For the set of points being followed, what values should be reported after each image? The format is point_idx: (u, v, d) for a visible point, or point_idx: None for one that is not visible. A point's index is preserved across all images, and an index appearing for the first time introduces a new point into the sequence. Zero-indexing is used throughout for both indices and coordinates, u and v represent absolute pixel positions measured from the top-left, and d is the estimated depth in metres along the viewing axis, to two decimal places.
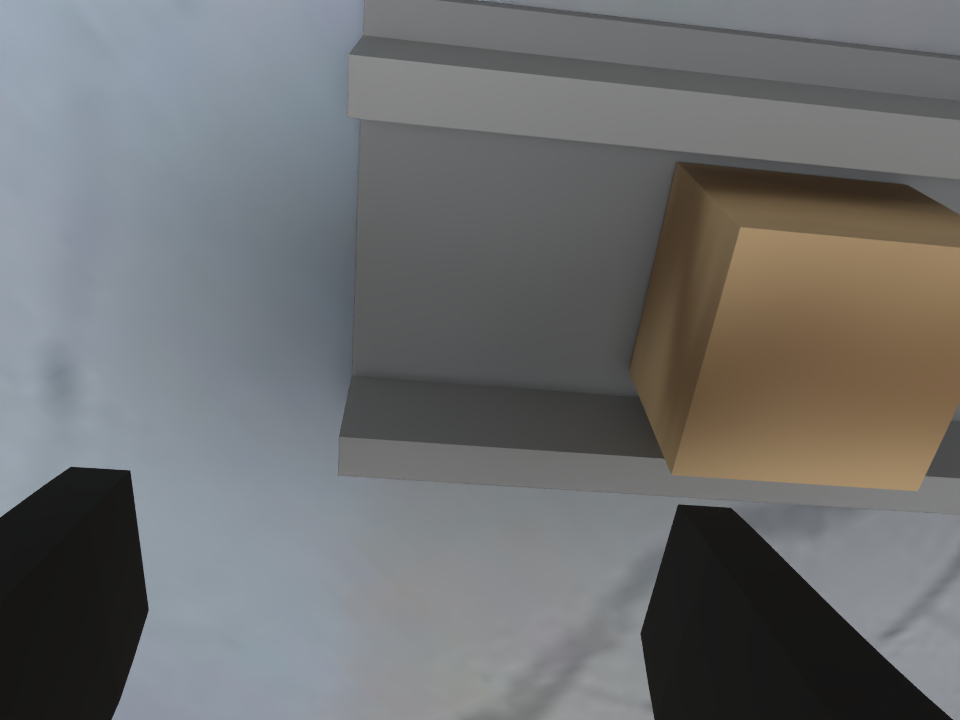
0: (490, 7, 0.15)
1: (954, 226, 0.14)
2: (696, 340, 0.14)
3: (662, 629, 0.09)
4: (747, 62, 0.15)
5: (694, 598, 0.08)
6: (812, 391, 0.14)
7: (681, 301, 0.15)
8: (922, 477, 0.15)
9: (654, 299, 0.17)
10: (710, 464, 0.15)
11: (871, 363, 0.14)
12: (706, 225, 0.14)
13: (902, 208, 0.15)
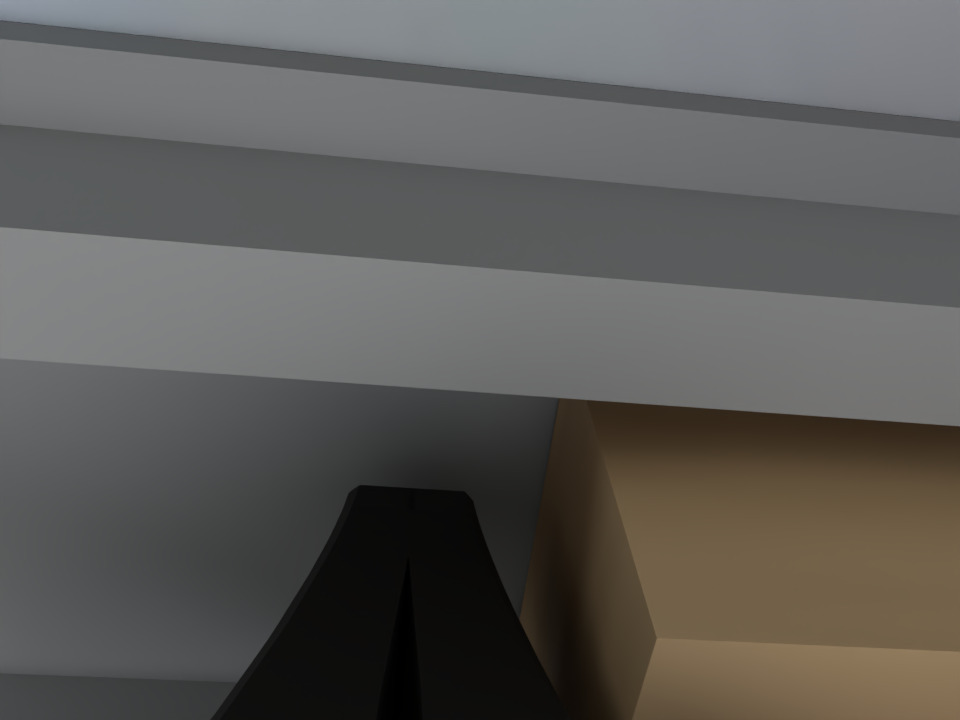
0: (71, 48, 0.07)
1: None
2: None
3: None
4: (630, 155, 0.08)
5: None
6: None
7: (565, 650, 0.08)
8: None
9: (538, 579, 0.09)
10: None
11: None
12: (601, 538, 0.06)
13: None
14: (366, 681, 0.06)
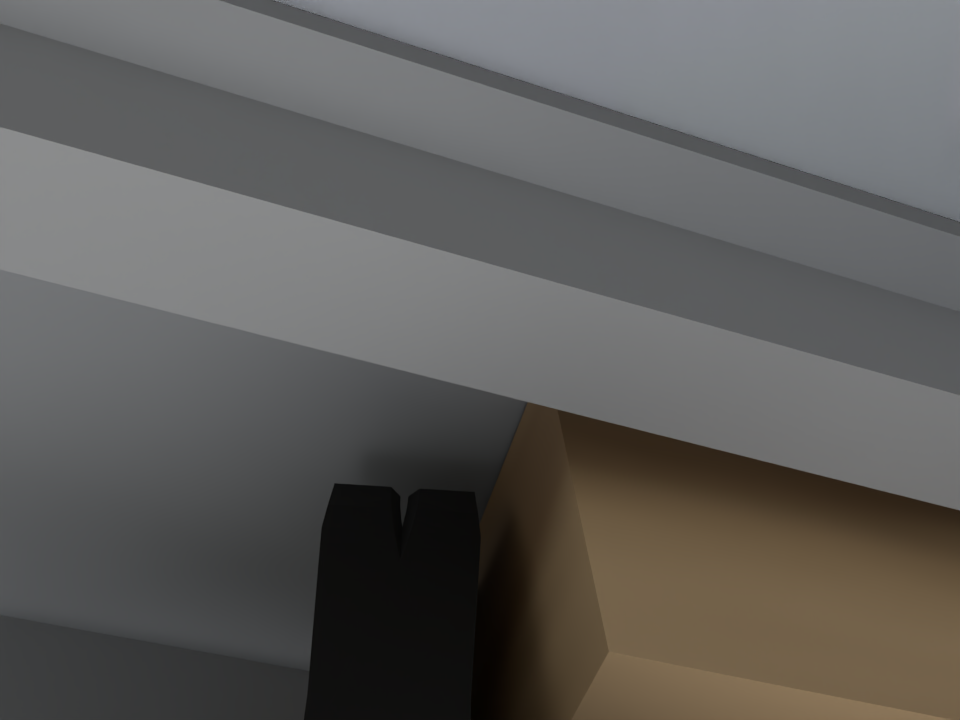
0: None
1: None
2: None
3: None
4: None
5: None
6: None
7: (495, 654, 0.08)
8: None
9: None
10: None
11: None
12: (557, 549, 0.07)
13: (945, 551, 0.08)
14: (456, 685, 0.06)
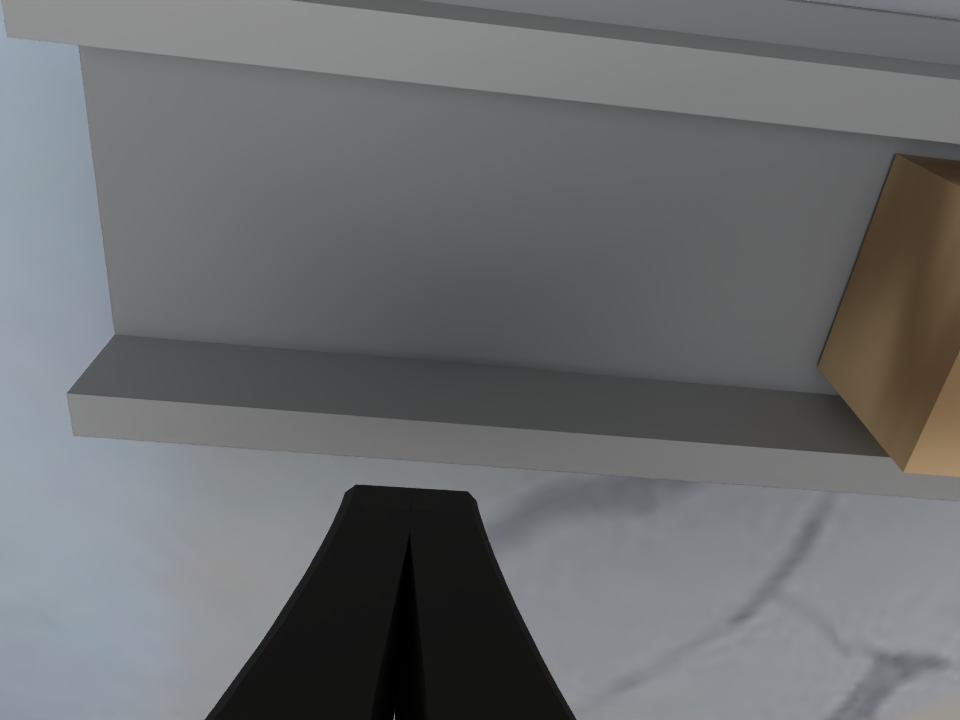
0: None
1: None
2: (944, 335, 0.14)
3: None
4: None
5: (406, 583, 0.08)
6: None
7: (913, 296, 0.15)
8: None
9: (861, 294, 0.17)
10: (945, 462, 0.15)
11: None
12: (956, 217, 0.14)
13: None
14: (361, 681, 0.06)
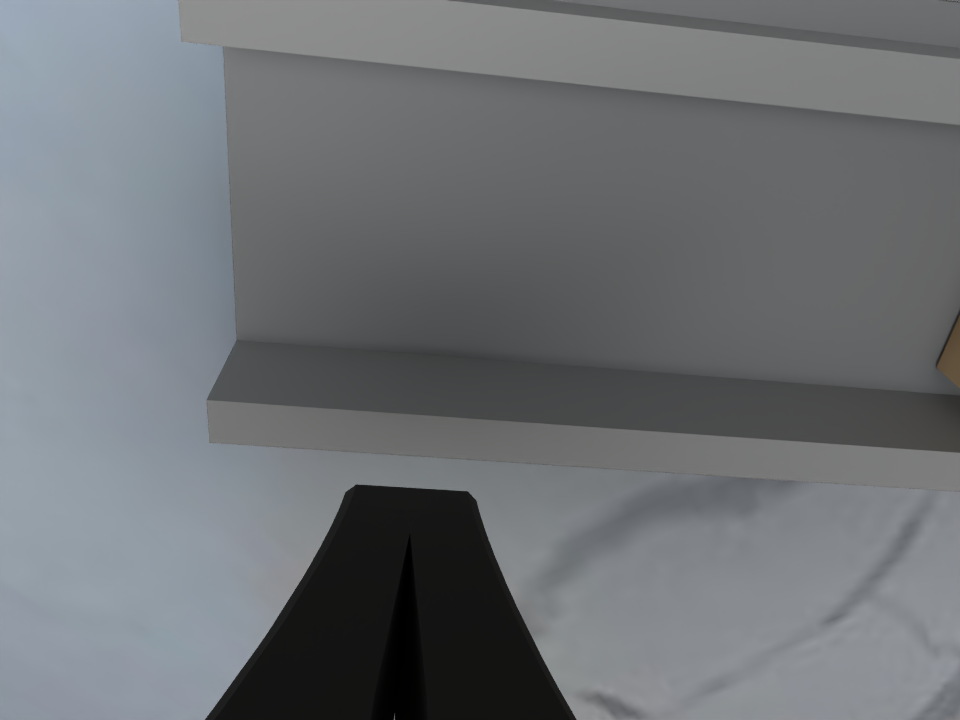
0: None
1: None
2: None
3: None
4: None
5: (405, 583, 0.08)
6: None
7: None
8: None
9: None
10: None
11: None
12: None
13: None
14: (361, 681, 0.06)
